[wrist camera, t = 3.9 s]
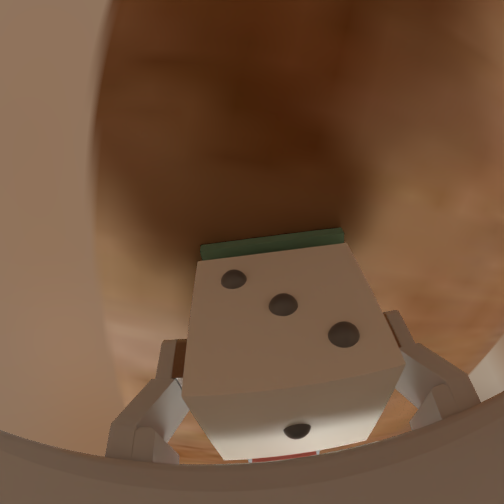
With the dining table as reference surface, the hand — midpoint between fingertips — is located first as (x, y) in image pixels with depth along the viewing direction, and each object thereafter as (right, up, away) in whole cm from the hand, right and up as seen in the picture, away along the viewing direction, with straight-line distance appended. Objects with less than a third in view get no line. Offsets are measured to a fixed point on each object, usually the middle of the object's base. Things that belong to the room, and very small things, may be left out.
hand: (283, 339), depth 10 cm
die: (0, +1, +1) cm, 2 cm away
